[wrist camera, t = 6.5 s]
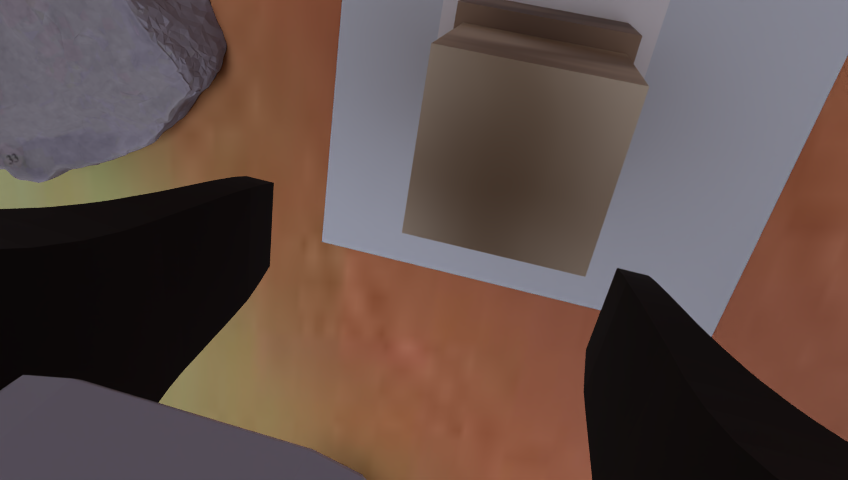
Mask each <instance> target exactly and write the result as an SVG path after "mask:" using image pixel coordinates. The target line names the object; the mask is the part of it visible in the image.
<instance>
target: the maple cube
mask: <svg viewBox="0 0 848 480" xmlns="http://www.w3.org/2000/svg"><path fill="white" fill-rule="evenodd" d="M648 89H649V85H648V84H647V83H646V81H645V80H644V78H643V77H642V75H641V74H640V73H639V71H638V70H637V68H636V67H635V65H634V64H633V62H632V61H631V60H630V58H629V57H628V55H627V54H623V53H618V52H613V51H608V50H603V49H597V48H592V47H587V46H582V45H577V44H572V43H567V42H561V41H556V40H551V39H546V38H541V37H536V36H530V35H525V34H520V33H515V32H510V31H505V30H499V29H494V28H489V27H484V26H479V25H474V24H468V23H462V24H460V25H459V26H457V27H456V28H454V29H453V30H451V31H449V32H448V33H446V34H445V35H443V36H442V37H440V38H439V39H437V40H435V41H434V42H432V43H431V48H430V55H429V61H428V67H427V74H426V80H425V87H424V93H423V100H422V106H421V112H420V119H419V125H418V132H417V138H416V145H415V151H414V157H413V164H412V170H411V177H410V183H409V190H408V196H407V202H406V209H405V215H404V222H403V228H402V233H405V234H409V235H413V236H417V237H421V238H426V239H430V240H434V241H438V242H442V243H446V244H451V245H455V246H459V247H463V248H467V249H471V250H476V251H480V252H484V253H488V254H492V255H496V256H500V257H505V258H509V259H513V260H517V261H521V262H525V263H530V264H534V265H538V266H542V267H546V268H550V269H555V270H559V271H563V272H567V273H571V274H575V275H579V276H584V277H585V276H586V273H587V270H588V267H589V264H590V261H591V258H592V256H593V253H594V250H595V247H596V244H597V241H598V238H599V235H600V232H601V229H602V226H603V223H604V220H605V217H606V214H607V211H608V208H609V205H610V202H611V199H612V196H613V193H614V190H615V187H616V184H617V181H618V178H619V175H620V172H621V169H622V166H623V163H624V160H625V157H626V154H627V151H628V149H629V146H630V143H631V140H632V137H633V134H634V131H635V128H636V125H637V122H638V119H639V116H640V113H641V110H642V107H643V104H644V101H645V98H646V95H647V92H648Z"/></svg>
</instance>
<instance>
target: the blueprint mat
mask: <svg viewBox="0 0 848 480" xmlns="http://www.w3.org/2000/svg"><path fill="white" fill-rule="evenodd" d="M458 1H459V0H342V8H341V20H340V32H339V44H338V56H337V68H336V80H335V92H334V104H333V116H332V128H331V140H330V152H329V164H328V176H327V188H326V200H325V212H324V224H323V236H322V242H325V243H329V244H333V245H338V246H342V247H346V248H350V249H354V250H358V251H362V252H366V253H370V254H374V255H378V256H382V257H386V258H390V259H394V260H398V261H402V262H407V263H411V264H415V265H419V266H423V267H427V268H431V269H435V270H439V271H443V272H447V273H451V274H455V275H459V276H463V277H467V278H472V279H476V280H480V281H484V282H488V283H492V284H496V285H500V286H504V287H508V288H512V289H516V290H520V291H524V292H528V293H532V294H537V295H541V296H545V297H549V298H553V299H557V300H561V301H565V302H569V303H573V304H577V305H581V306H585V307H589V308H593V309H597V310H601V309H602V306H603V304H604V301H605V298H606V296H607V293H608V290H609V288H610V285H611V282H612V280H613V277H614V274H615V272H616V269H617V268H620V269H624V270H628V271H632V272H636V273H640V274H644V275H648V276H650V277H651V278H652V279H654V280H655V281H656V282H657V283H658V284H659V285H660V286H661V287H662V288H663V289H664V290H665V291H666V292H667V293H668V294H669V295H670V296H671V297H672V298H673V299H674V300H675V301H676V302H677V303H678V304H679V305H680V306H681V307H682V308H683V309H684V310H685V311H686V312H687V313H688V314H689V315H690V317H691V318H692V319H693V320H694V321H695V322H696V323H697V324H698V325H699V326H700V327H701V328H702V329H703V330H704V331H705V332H706V333H707V334H708V335H710V336H711V337H712V335H713V333H714V331H715V328H716V326H717V324H718V322H719V320H720V318H721V316H722V314H723V312H724V310H725V308H726V306H727V304H728V302H729V299H730V297H731V295H732V293H733V291H734V289H735V287H736V285H737V283H738V281H739V279H740V277H741V275H742V273H743V270H744V268H745V266H746V264H747V262H748V260H749V258H750V256H751V254H752V252H753V250H754V248H755V246H756V244H757V242H758V239H759V237H760V235H761V233H762V231H763V229H764V227H765V225H766V223H767V221H768V219H769V217H770V215H771V213H772V210H773V208H774V206H775V204H776V202H777V200H778V198H779V196H780V194H781V192H782V190H783V188H784V186H785V184H786V181H787V179H788V177H789V175H790V173H791V171H792V169H793V167H794V165H795V163H796V161H797V159H798V157H799V155H800V152H801V150H802V148H803V146H804V144H805V142H806V140H807V138H808V136H809V134H810V132H811V130H812V128H813V126H814V124H815V121H816V119H817V117H818V115H819V113H820V111H821V109H822V107H823V105H824V103H825V101H826V99H827V97H828V95H829V92H830V90H831V88H832V86H833V84H834V82H835V80H836V78H837V76H838V74H839V72H840V70H841V68H842V66H843V63H844V61H845V59H846V57H847V55H848V0H508V1H514V2H519V3H524V4H530V5H535V6H540V7H546V8H551V9H556V10H562V11H567V12H572V13H578V14H583V15H589V16H594V17H599V18H605V19H610V20H615V21H621V22H626V23H629V24H630V25H631V26H632V27H634V28H635V29H636V30H637V31H638V32H639V33H640V34H641V35H642V39H641V42H640V45H639V48H638V52H637V55H636V58H635V61H634V65H635V67H636V68H637V70H638V71H639V73H640V74H641V75H642V77H643V78H644V80H645V81H646V83H647V84H648V85H649V89H648V92H647V95H646V98H645V101H644V104H643V107H642V110H641V113H640V116H639V119H638V122H637V125H636V128H635V131H634V134H633V137H632V140H631V143H630V146H629V149H628V151H627V154H626V157H625V160H624V163H623V166H622V169H621V172H620V175H619V178H618V181H617V184H616V187H615V190H614V193H613V196H612V199H611V202H610V205H609V208H608V211H607V214H606V217H605V220H604V223H603V226H602V229H601V232H600V235H599V238H598V241H597V244H596V247H595V250H594V253H593V256H592V258H591V261H590V264H589V267H588V270H587V273H586V276H585V277H584V276H579V275H575V274H571V273H567V272H563V271H559V270H555V269H550V268H546V267H542V266H538V265H534V264H530V263H525V262H521V261H517V260H513V259H509V258H505V257H500V256H496V255H492V254H488V253H484V252H480V251H476V250H471V249H467V248H463V247H459V246H455V245H451V244H446V243H442V242H438V241H434V240H430V239H426V238H421V237H417V236H413V235H409V234H405V233H402V228H403V222H404V215H405V209H406V202H407V196H408V190H409V183H410V177H411V170H412V164H413V157H414V151H415V145H416V138H417V132H418V125H419V119H420V112H421V106H422V100H423V93H424V87H425V80H426V74H427V67H428V61H429V55H430V48H431V43H432V42H434V41H435V40H437V39H439V38H440V37H442V36H443V35H445V34H446V33H448V32H449V31H451V30H453V27H454V22H455V16H456V10H457V4H458Z"/></svg>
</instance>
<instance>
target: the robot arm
mask: <svg viewBox="0 0 848 480" xmlns="http://www.w3.org/2000/svg"><path fill="white" fill-rule="evenodd" d="M273 187H274V183H272V182H268V181H264V180H260V179H256V178H252V177H248V176H242V177H231V178H225V179H219V180H214V181H208V182H203V183H199V184H194V185H189V186H184V187H179V188H175V189H170V190H165V191H160V192H154V193H149V194H143V195H138V196H132V197H126V198H121V199H115V200H109V201H102V202H94V203H86V204H77V205H67V206H56V207H43V208H19V209H0V480H366V479H365V478H364V476H363V475H362V474H360V473H358V472H356V471H354V470H352V469H350V468H348V467H346V466H344V465H342V464H340V463H339V462H337V461H335V460H333V459H331V458H329V457H327V456H325V455H323V454H321V453H319V452H317V451H315V450H313V449H310V448H307V447H303V446H300V445H297V444H293V443H290V442H287V441H283V440H280V439H277V438H273V437H270V436H267V435H263V434H260V433H257V432H253V431H250V430H247V429H243V428H240V427H237V426H233V425H230V424H227V423H223V422H220V421H217V420H213V419H210V418H207V417H203V416H200V415H197V414H193V413H190V412H187V411H183V410H180V409H177V408H173V407H170V406H167V405H163V404H160V403H158V402H159V401H160V400H161V398H162V397H163V395H164V394H165V393H166V391H167V390H168V389H169V387H170V386H171V385H172V384H173V382H174V381H175V380H176V379H177V378H178V376H179V375H180V374H181V373H182V372H183V370H184V369H185V368H186V367H187V366H188V365H189V364H190V363H191V362H192V361H193V360H194V359H195V357H196V356H197V355H198V354H199V353H200V352H201V351H202V350H203V349H204V348H205V347H206V345H207V344H208V343H209V342H210V341H211V340H212V339H213V338H214V337H215V336H216V335H217V333H218V332H219V331H220V330H221V329H222V328H223V327H224V326H225V325H226V324H227V323H228V321H229V320H230V319H231V318H232V317H233V316H234V315H235V314H236V313H237V311H238V310H239V309H240V308H241V307H242V306H243V305H244V303H245V302H246V301H247V300H248V299H249V297H250V296H251V294H252V293H253V291H254V290H255V288H256V287H257V285H258V284H259V282H260V281H261V279H262V278H263V276H264V274H265V273H266V271H267V270H268V268H269V266H270V249H271V228H272V207H273ZM584 399H585V411H586V421H587V432H588V441H589V451H590V461H591V471H592V480H848V442H847V441H845V440H844V439H842V438H840V437H839V436H837V435H836V434H834V433H833V432H831V431H830V430H828V429H827V428H825V427H824V426H822V425H820V424H819V423H817V422H816V421H814V420H813V419H811V418H810V417H809V416H807V415H806V414H804V413H803V412H801V411H800V410H799V409H797V408H796V407H794V406H793V405H792V404H790V403H789V402H788V401H786V400H785V399H784V398H782V397H781V396H780V395H778V394H777V393H776V392H775V391H773V390H772V389H771V388H769V387H768V386H767V385H765V384H764V383H763V382H761V381H760V380H759V379H758V378H757V377H755V376H754V375H753V374H752V373H750V372H749V371H748V370H747V369H746V368H745V367H743V366H742V365H741V364H740V363H739V362H738V361H737V360H736V359H734V358H733V357H732V356H731V355H730V354H729V353H728V352H727V351H726V350H724V349H723V348H722V347H721V346H720V345H719V344H718V343H717V342H716V341H715V340H714V339H713V338H712V337H711V336H710V335H708V334H707V333H706V332H705V331H704V330H703V329H702V328H701V327H700V326H699V325H698V324H697V323H696V322H695V321H694V320H693V319H692V318H691V317H690V315H689V314H688V313H687V312H686V311H685V310H684V309H683V308H682V307H681V306H680V305H679V304H678V303H677V302H676V301H675V300H674V299H673V298H672V297H671V296H670V295H669V294H668V293H667V292H666V291H665V290H664V289H663V288H662V287H661V286H660V285H659V284H658V283H657V282H656V281H655V280H654V279H652V278H651V277H650V276H648V275H644V274H640V273H636V272H632V271H628V270H624V269H620V268H617V269H616V272H615V274H614V277H613V280H612V282H611V285H610V288H609V290H608V293H607V296H606V298H605V301H604V304H603V306H602V309H601V312H600V314H599V317H598V320H597V322H596V325H595V328H594V330H593V333H592V336H591V338H590V341H589V343H588V346H587V349H586V359H585V376H584Z"/></svg>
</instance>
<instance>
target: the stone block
mask: <svg viewBox="0 0 848 480" xmlns="http://www.w3.org/2000/svg"><path fill="white" fill-rule="evenodd" d="M226 46H227V45H226V41H225V38H224V35H223V32H222V30H221V28H220V26H219V24H218V22H217V20H216V17H215V14H214V12H213V9H212V6H211V4H210V0H0V169H6V170H7V171H8V172H9V173H10V174H11V175H12V176H13V177H15V178H17V179H19V180H28V181H33V182H38V183H40V182H44V181H47V180H50V179H53V178H55V177H58V176H59V175H61V174H63V173H65V172H67V171H69V170H71V169H77V168H82V167H86V166H89V165H98V164H100V163H103V162H106V161H110V160H114V159H116V158H119V157H121V156H124V155H126V154H128V153H130V152H133V151H136V150H139V149H141V148H144V147H146V146H148V145H150V144H152V143H154V142H155V141H156V140H157V139H158V138H159V137H160V136H161V134H162V133H163V132H164V131H166V130H167V129H169V128H171V127H172V126H173V125H174V124H175V123H176V122H177V121H179V120H180V119H182V118H184V117H185V115H186V114H187V113H188V111H189V110H190V108H191V107H192V105H193V104H194V102H195V101H196V99H197V98H198V96H199V94H201V92H202V91H204V90H205V89H206V88H208V87H209V85H210V84H211V82H212V81H213V80H214V78H215V77H216V74H217V72H218V71H219V70H220V69H221V66H222V63H223V57H224V54H225V52H226Z"/></svg>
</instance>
